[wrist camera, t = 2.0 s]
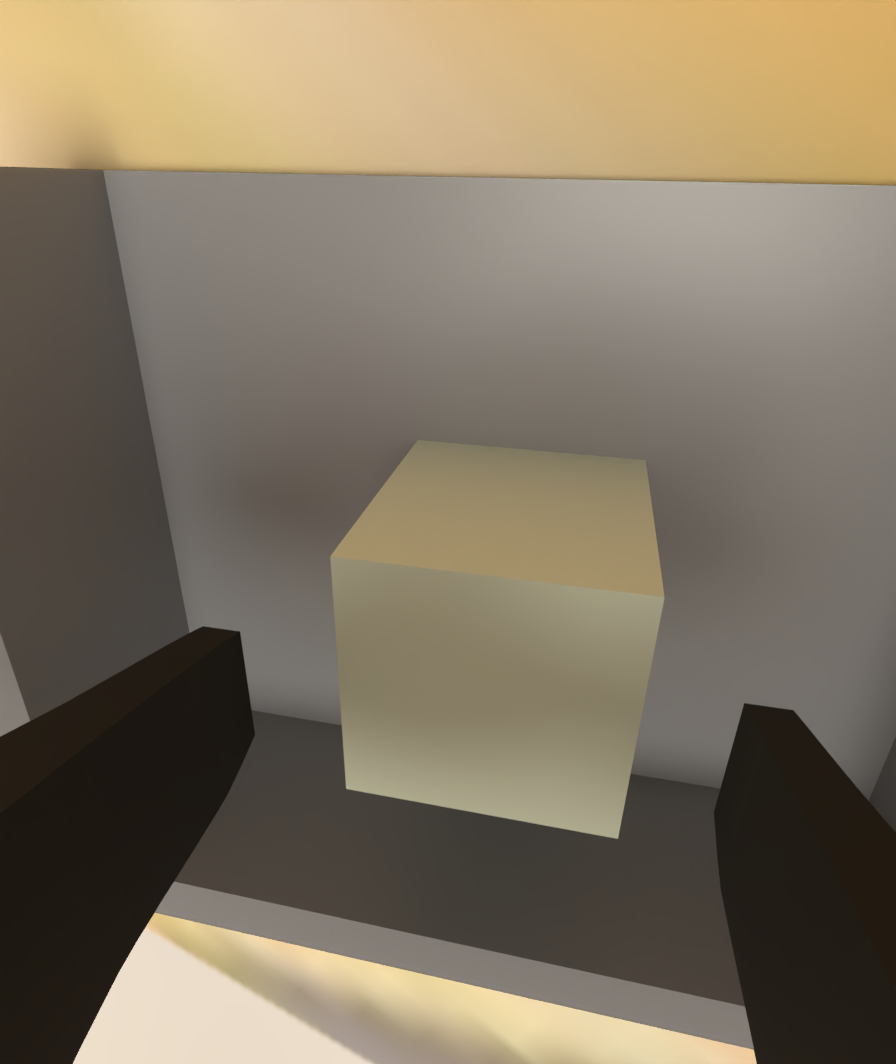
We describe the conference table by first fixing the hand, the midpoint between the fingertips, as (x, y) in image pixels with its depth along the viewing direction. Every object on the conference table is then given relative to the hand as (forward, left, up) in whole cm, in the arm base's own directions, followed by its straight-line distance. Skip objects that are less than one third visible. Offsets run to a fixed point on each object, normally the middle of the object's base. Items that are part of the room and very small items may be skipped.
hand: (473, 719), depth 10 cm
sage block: (0, 0, -5) cm, 5 cm away
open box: (0, 0, -6) cm, 6 cm away
